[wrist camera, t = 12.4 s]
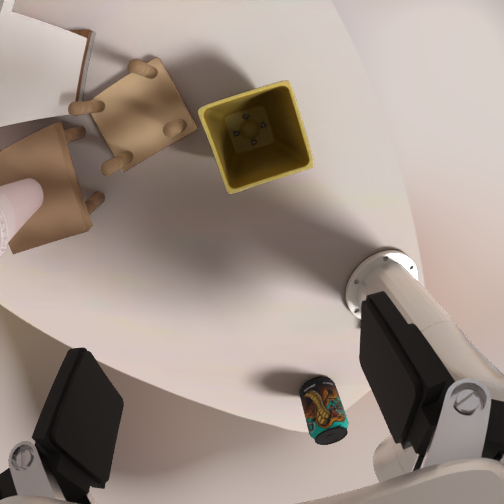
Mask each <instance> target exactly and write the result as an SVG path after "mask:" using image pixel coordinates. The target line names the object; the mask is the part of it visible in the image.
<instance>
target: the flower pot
mask: <svg viewBox="0 0 504 504" xmlns="http://www.w3.org/2000/svg"><path fill="white" fill-rule="evenodd" d="M245 114H246V115H248V118H247V119H244V118H243V115H245ZM198 115H199V118H200V120H201V123H202V125H203V128H204V130H205V133H206V135H207V138H208V140H209V143H210V146H211V148H212V151H213V154H214V157H215V159H216V162H217V165H218V168H219V171H220V174H221V177H222V180H223V183H224V186H225V189H226V191H227V192H228V193H229V194H234V193H237V192H240V191H243V190H246V189H248V188H251V187H254V186H257V185H260V184H263V183H266V182H269V181H272V180H275V179H279V178H282V177H285V176H288V175H291V174H295V173H298V172H301V171H305V170H307V169H310V168H312V167H313V166H314V160H313V156H312V152H311V149H310V145H309V142H308V138H307V135H306V132H305V128H304V124H303V121H302V118H301V115H300V111H299V108H298V105H297V101H296V97H295V94H294V91H293V88H292V86H291V84H290V82H289V81H280V82H277V83H273V84H270V85H266V86H263V87H260V88H256V89H253V90H250V91H247V92H243V93H240V94H237V95H234V96H231V97H228V98H225V99H222V100H218V101H215V102H212V103H209V104H207V105H204V106H202V107H200V108H199V109H198ZM261 123H265V127H261V126H260V124H261ZM235 131H238V132H239V135H238V136H235V135H234V132H235ZM252 140H256V143H255V144H252V142H251V141H252Z"/></svg>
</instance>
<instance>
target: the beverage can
mask: <svg viewBox="0 0 504 504" xmlns="http://www.w3.org/2000/svg"><path fill="white" fill-rule="evenodd" d="M300 398H301V402H302V406H303V410H304V414H305V418H306V422H307V426H308V430H309V434H310V436H311V437H312V438H314V439H315V442H316V443H317V444H320V445H328V444H332V443H335V442H337V441H340V440H341V439H343V438H344V437H345V436H346V435H347V427H348V420H347V417H346V414H345V411H344V408H343V405H342V403H341V400H340V397H339V394H338V391H337V389H336V386H335V383H334V382H333V381H332V380H331V379H328V378H323V377H321V378H315V379H312V380H310V381H308V382H307V383H305V384H304V386H303V387H302V388H301V390H300Z"/></svg>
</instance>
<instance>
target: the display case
mask: <svg viewBox="0 0 504 504" xmlns="http://www.w3.org/2000/svg"><path fill="white" fill-rule="evenodd" d="M14 2H15V0H0V127H2V126H7V125H11V124H16V123H21V122H26V121H31V120H37V119H43V118H49V117H55V116H62V115H69V112H68V107H69V105H70V103H72V102H77V101H82V99H83V93H84V86H85V81H86V75H87V70H88V65H89V60H90V55H91V51H92V46H93V42H94V38H95V34H96V32H94V31H92V30H74V31H68V30H65V29H62V28H60V27H57V26H54V25H51V24H49V23H46V22H43V21H40V20H37V19H34V18H31V17H28V16H25V15H21V14H18V13H15V12H12V8H13V5H14Z"/></svg>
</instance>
